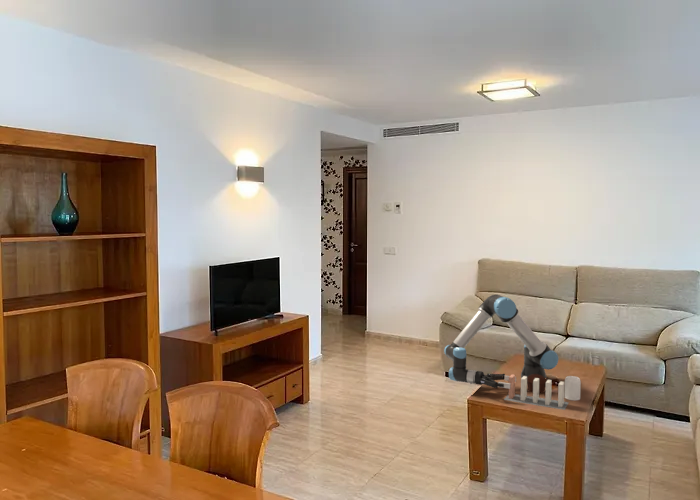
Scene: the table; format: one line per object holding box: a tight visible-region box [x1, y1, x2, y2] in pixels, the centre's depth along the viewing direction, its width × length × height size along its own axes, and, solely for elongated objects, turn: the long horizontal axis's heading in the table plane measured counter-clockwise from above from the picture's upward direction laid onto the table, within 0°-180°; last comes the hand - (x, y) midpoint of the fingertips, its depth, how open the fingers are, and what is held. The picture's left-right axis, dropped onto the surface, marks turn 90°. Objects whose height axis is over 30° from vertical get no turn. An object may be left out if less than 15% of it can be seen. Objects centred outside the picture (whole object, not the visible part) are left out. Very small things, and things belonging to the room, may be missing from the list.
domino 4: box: [544, 379, 553, 405], centre depth 297 cm, size 2×6×12 cm, turn 150°
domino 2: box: [520, 376, 528, 401], centre depth 303 cm, size 2×6×12 cm, turn 150°
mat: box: [503, 393, 570, 411], centre depth 300 cm, size 13×32×1 cm, turn 60°
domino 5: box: [557, 380, 565, 407], centre depth 293 cm, size 2×6×12 cm, turn 150°
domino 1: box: [508, 373, 516, 399], centre depth 307 cm, size 2×6×12 cm, turn 150°
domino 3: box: [532, 378, 540, 403], centre depth 300 cm, size 2×6×12 cm, turn 150°
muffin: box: [527, 374, 548, 394], centre depth 317 cm, size 12×11×10 cm
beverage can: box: [564, 375, 582, 401], centre depth 305 cm, size 8×8×12 cm
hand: (513, 382), depth 306 cm, fingers open, 13 cm apart
